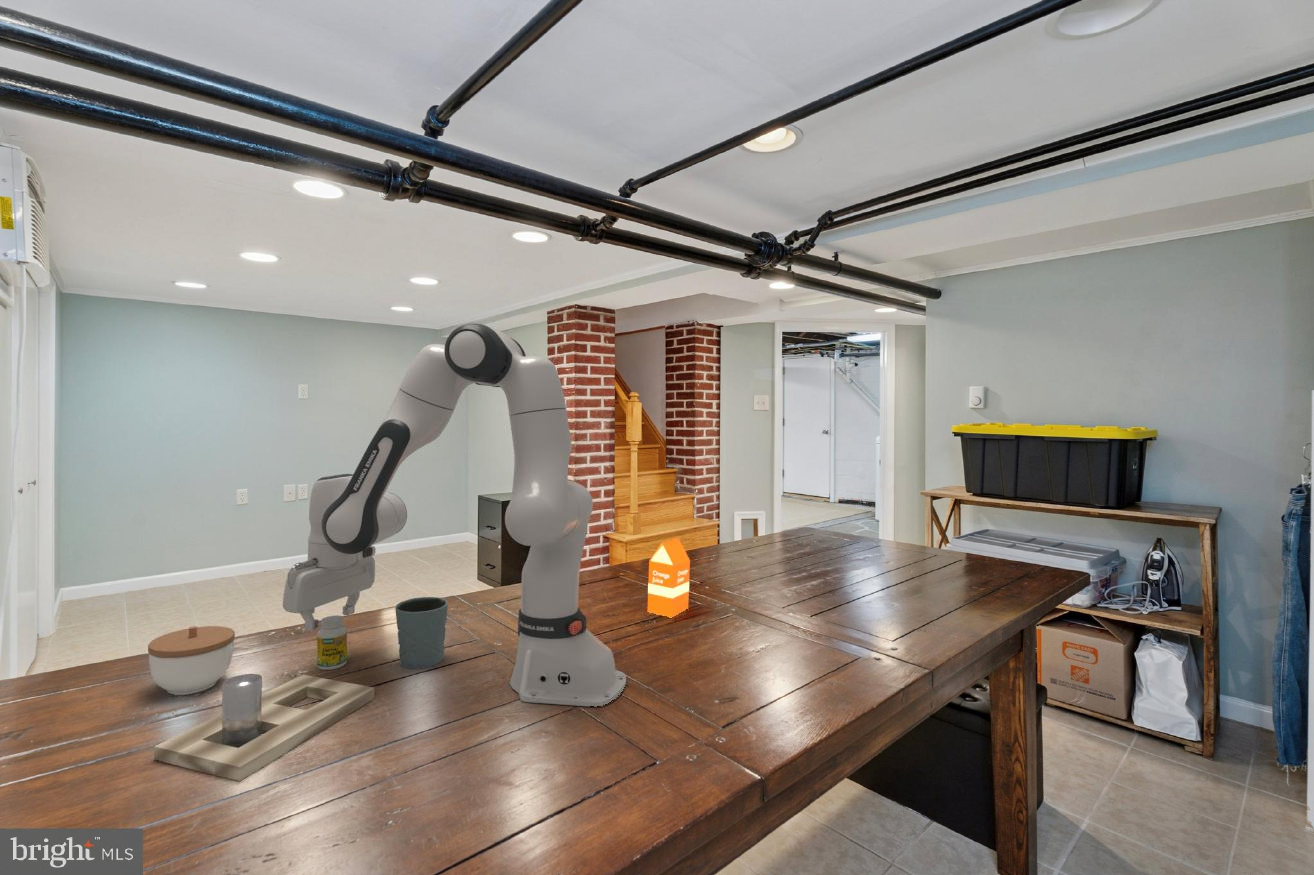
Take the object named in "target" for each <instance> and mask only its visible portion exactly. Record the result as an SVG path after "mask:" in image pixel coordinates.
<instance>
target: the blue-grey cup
mask: <svg viewBox="0 0 1314 875" xmlns="http://www.w3.org/2000/svg"><path fill="white" fill-rule="evenodd" d="M448 608H449V602H448V600H447V599H445V598H443V597H437V596H421V597H413V598H410V599H405V600H402V601H400V602H398V603H397V604H396V605H395V608H394V609H395V616H396V617H395V618H396V627H397V639H398V641H397V642H398V645H399V646H398V648H399V649H398V654H399V663H400V665H401V666H402V667H403V668H406V669H415V670H416V669H417V670H419V669H425V668H430V667H434V666H436V665H439V663H441V662H442V661H443V659H444V655H445V639H446V623H447V620H448V619H447V617H448Z"/></svg>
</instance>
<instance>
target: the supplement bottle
mask: <svg viewBox="0 0 1314 875" xmlns="http://www.w3.org/2000/svg"><path fill="white" fill-rule="evenodd" d="M320 627H321V628H320V629H319V630H318V631H317V633H316V634H317V635H316V667H317V668H318V669H319V670H321V671H330V670H331V671H332V670H336V669H339V668H341V667H344V666H345V665H346V664H347V661H348V660H347V659H348V629H347V627H346V626H344V616H342V615H338V614H337V615H329V616H325V617H323V618H321V619H320Z"/></svg>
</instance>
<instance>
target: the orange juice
mask: <svg viewBox="0 0 1314 875" xmlns="http://www.w3.org/2000/svg"><path fill="white" fill-rule="evenodd" d="M690 565H691V559H690V557H689V556H688V554H687V552H686V549H685V548H684V546H683V544H682V542H681V540H680V538H679V537H676V538H672V539H669V540H666V541H663V542H661V543H660V545H659V546H658V547H657V549H656V551H655V552H654V553H653V555H652V556H651V558H650V559H649V562H648V583H647V584H648V585H647V612H649V613H654V614H656V615H662V616H667V617H669V618H672V617H674V616H676V615H678V614H679V613H681V612H683V611H685V610H686V609H688V610H689V596H690V594H689V593H690V570H691V569H690V568H691V566H690Z"/></svg>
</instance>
